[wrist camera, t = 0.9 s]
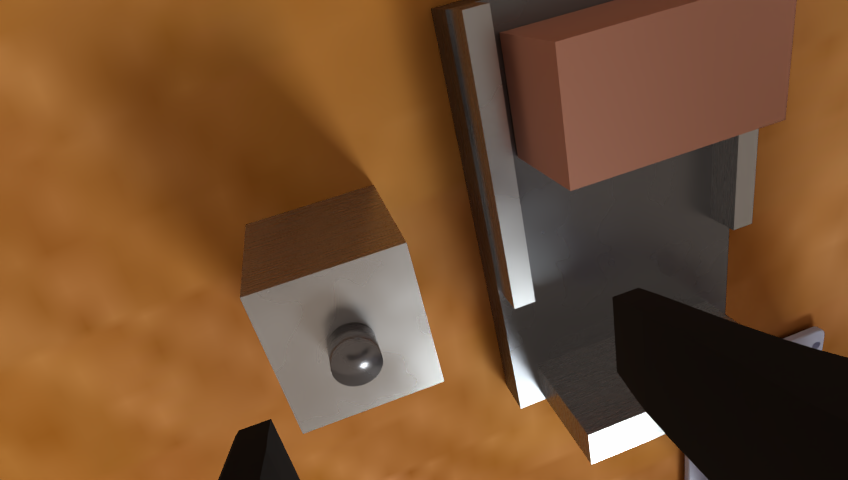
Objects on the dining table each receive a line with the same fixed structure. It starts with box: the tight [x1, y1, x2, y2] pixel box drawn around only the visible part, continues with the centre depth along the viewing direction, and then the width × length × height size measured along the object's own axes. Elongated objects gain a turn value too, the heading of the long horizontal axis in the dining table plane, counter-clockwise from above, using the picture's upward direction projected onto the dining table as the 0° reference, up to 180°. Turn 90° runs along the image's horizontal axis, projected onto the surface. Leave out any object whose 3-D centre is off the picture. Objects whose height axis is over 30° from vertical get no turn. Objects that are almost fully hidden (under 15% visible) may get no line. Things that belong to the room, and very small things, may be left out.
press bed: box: [431, 0, 759, 464], centre depth 19 cm, size 16×10×6 cm, turn 13°
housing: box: [240, 185, 444, 434], centre depth 17 cm, size 5×4×6 cm
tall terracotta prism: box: [499, 0, 797, 191], centre depth 16 cm, size 4×7×4 cm, turn 103°
